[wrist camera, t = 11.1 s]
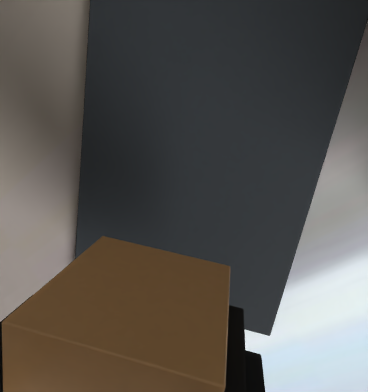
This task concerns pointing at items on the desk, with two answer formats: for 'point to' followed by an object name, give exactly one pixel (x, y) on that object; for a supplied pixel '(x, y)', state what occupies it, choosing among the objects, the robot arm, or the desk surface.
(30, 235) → the desk surface
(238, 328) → the robot arm
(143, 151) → the mat
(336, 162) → the desk surface
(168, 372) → the kraft box
